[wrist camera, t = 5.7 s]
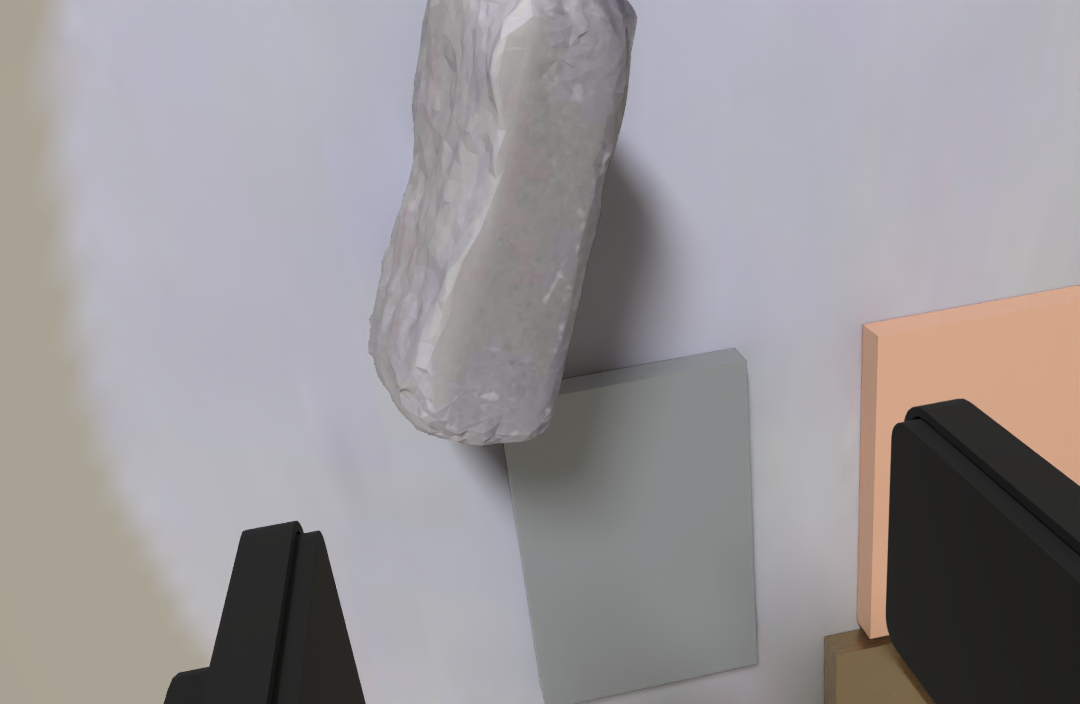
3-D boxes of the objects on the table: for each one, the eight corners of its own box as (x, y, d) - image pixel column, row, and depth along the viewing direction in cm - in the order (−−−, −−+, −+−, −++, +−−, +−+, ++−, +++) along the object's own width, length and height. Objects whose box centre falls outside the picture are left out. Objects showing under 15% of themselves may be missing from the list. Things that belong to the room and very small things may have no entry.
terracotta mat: (1083, 284, 37) (1105, 294, 36) (1048, 579, 42) (1066, 596, 41) (862, 324, 36) (878, 336, 35) (857, 620, 41) (870, 638, 40)
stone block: (499, 335, 34) (550, 479, 25) (362, 313, 32) (361, 455, 23) (583, -17, 30) (682, -2, 20) (430, -57, 28) (462, -60, 19)
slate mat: (734, 347, 35) (746, 360, 34) (746, 644, 41) (757, 663, 40) (495, 391, 34) (499, 405, 33) (541, 689, 40) (546, 709, 39)
